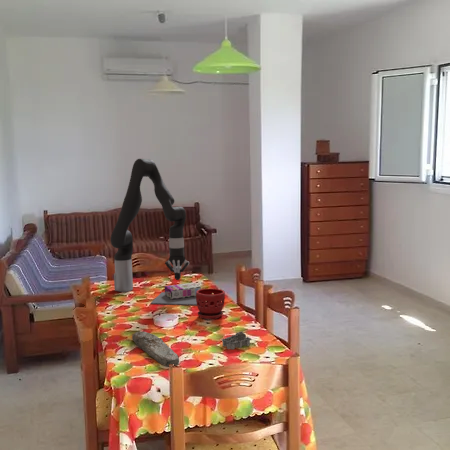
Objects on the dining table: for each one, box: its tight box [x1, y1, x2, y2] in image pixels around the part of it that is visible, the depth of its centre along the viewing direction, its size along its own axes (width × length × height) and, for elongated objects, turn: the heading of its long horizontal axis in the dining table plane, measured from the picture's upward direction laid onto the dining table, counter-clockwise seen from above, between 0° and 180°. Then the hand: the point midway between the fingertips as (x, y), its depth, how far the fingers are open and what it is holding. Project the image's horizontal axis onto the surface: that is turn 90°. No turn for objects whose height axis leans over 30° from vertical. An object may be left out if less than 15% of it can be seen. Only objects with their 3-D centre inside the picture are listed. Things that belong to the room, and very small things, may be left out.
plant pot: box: [196, 288, 226, 320], centre depth 246 cm, size 13×13×12 cm
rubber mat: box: [150, 291, 197, 306], centre depth 276 cm, size 24×20×1 cm
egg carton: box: [220, 331, 252, 350], centre depth 210 cm, size 11×8×4 cm
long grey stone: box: [131, 331, 180, 367], centre depth 206 cm, size 35×5×10 cm
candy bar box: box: [164, 282, 202, 299], centre depth 280 cm, size 11×5×16 cm
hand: (177, 279), depth 274 cm, fingers closed
